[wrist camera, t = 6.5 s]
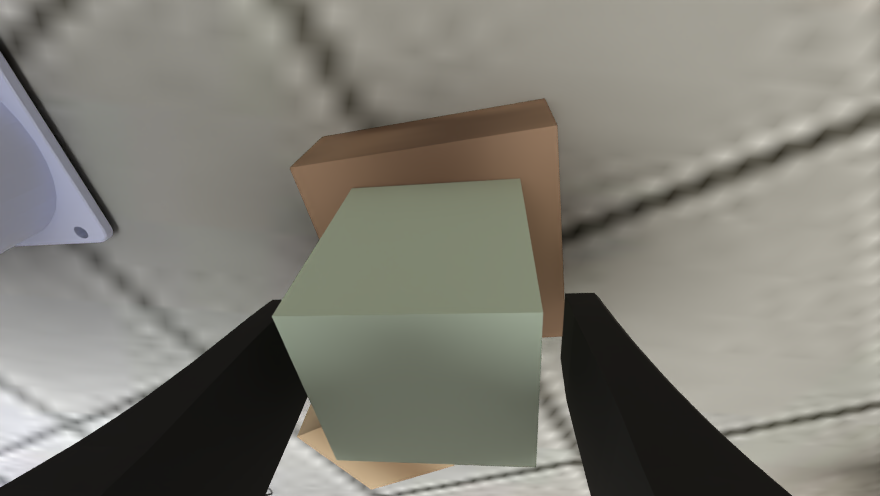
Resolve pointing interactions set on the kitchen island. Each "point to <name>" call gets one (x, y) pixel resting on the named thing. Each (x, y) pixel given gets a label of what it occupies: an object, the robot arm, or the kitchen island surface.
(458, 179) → the walnut block
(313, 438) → the oak block
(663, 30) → the kitchen island surface
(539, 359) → the green block
